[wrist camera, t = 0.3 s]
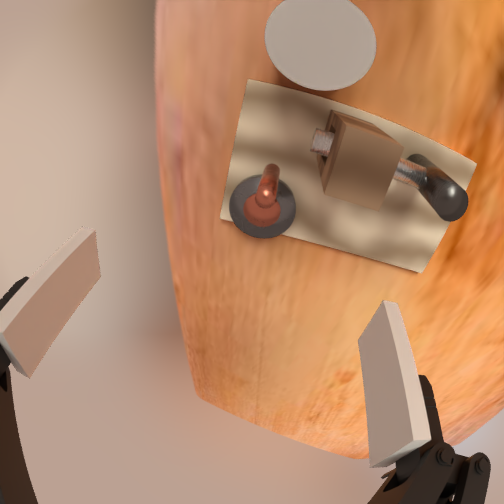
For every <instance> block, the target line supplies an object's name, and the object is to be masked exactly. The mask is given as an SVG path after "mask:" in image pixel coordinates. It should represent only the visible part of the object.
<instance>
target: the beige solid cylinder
mask: <svg viewBox="0 0 504 504" xmlns="http://www.w3.org/2000/svg"><path fill="white" fill-rule="evenodd" d="M265 45H266V49H267V52H268V55H269V57H270V59H271V61H272V62H273V64H274V65H275V66H276V68H277V69H278V70H279V71H280V72H281V73H282V74H283V75H284V76H286V77H287V78H288V79H290V80H291V81H293V82H295V83H297V84H299V85H301V86H303V87H306V88H310V89H314V90H323V91H329V90H337V89H342V88H345V87H348V86H350V85H352V84H354V83H356V82H357V81H358V80H360V79H361V78H362V77H363V76H364V75H365V74H366V73H367V72H368V70H369V69H370V67H371V66H372V64H373V61H374V58H375V55H376V37H375V33H374V30H373V27H372V25H371V23H370V21H369V20H368V18H367V17H366V15H365V14H364V13H363V12H362V11H361V10H360V9H359V8H358V7H357V6H356V5H354V4H353V3H352V2H350V1H348V0H284V1H283V2H281V3H280V4H279V5H278V6H277V7H276V8H275V9H274V10H273V12H272V13H271V15H270V17H269V19H268V21H267V24H266V28H265Z"/></svg>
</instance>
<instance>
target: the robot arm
mask: <svg viewBox="0 0 504 504" xmlns="http://www.w3.org/2000/svg"><path fill="white" fill-rule="evenodd" d="M100 277H101V275H100V267H99V259H98V251H97V242H96V232H95V230H94V229H90V228H86V227H81V228H80V229H79V230H78V231H77V232H76V233H75V234H74V235H73V236H71V237H70V238H69V239H68V240H67V241H66V242H65V243H64V244H63V245H62V246H61V247H60V248H59V249H58V250H57V251H56V252H55V253H54V254H53V255H52V256H51V257H50V258H49V259H48V260H47V261H46V262H45V263H44V264H43V265H42V266H41V267H40V268H39V269H38V270H37V271H36V272H35V273H34V274H33V275H32V276H31V277H30V278H28V277H24V278H23V279H21V280H19V281H17V282H16V283H15V284H14V285H13V287H11V288H10V289H9V292H7V293H6V294H5V295H4V296H3V299H0V504H38V502H37V499H36V496H35V493H34V490H33V487H32V484H31V481H30V478H29V474H28V471H27V467H26V463H25V459H24V456H23V451H22V447H21V443H20V438H19V433H18V428H17V423H16V417H15V410H14V403H13V396H12V387H11V376H10V370H9V367H8V366H9V365H10V363H12V364H13V366H14V367H15V369H16V370H17V371H18V372H20V373H21V374H23V375H24V376H26V377H28V378H30V377H31V376H32V374H33V372H34V371H35V369H36V367H37V366H38V364H39V363H40V361H41V359H42V358H43V356H44V355H45V354H46V352H47V350H48V349H49V347H50V346H51V344H52V343H53V341H54V340H55V338H56V337H57V336H58V334H59V333H60V331H61V330H62V328H63V327H64V326H65V324H66V323H67V321H68V320H69V318H70V317H71V316H72V314H73V313H74V312H75V310H76V309H77V307H78V306H79V305H80V303H81V302H82V301H83V299H84V298H85V297H86V295H87V294H88V293H89V291H90V290H91V289H92V287H93V286H94V285H95V284H96V282H97V281H98V280H99V278H100ZM358 344H359V351H360V359H361V367H362V375H363V384H364V393H365V403H366V414H367V426H368V441H369V459H370V468H371V467H372V468H374V467H387V466H389V465H391V464H393V463H395V462H396V468H395V469H393V470H391V471H390V472H388V473H386V474H384V475H383V476H382V477H381V478H382V479H384V478H386V477H388V478H387V479H386V481H385V482H384V483H383V484H382V486H381V487H380V488H379V490H378V491H377V492H376V494H375V495H374V496H373V497H372V499H371V500H370V501H369V502H368V504H484V502H485V497H486V492H487V488H488V482H489V477H490V470H491V469H490V468H491V464H490V461H489V459H488V457H487V456H486V455H485V454H483V453H480V452H479V453H476V454H474V455H473V456H471V457H465V456H462V455H458V454H455V451H454V449H453V448H452V447H451V446H450V445H449V444H447V443H445V442H444V440H443V436H442V431H441V426H440V421H439V416H438V411H437V408H436V402H435V399H434V394H433V390H432V386H431V384H430V383H429V381H428V379H427V378H426V376H425V375H418V372H417V369H416V365H415V361H414V357H413V353H412V350H411V346H410V343H409V339H408V336H407V332H406V329H405V326H404V322H403V319H402V316H401V313H400V310H399V307H398V304H397V303H395V302H390V301H386V300H383V301H382V303H381V304H380V306H379V308H378V309H377V311H376V313H375V314H374V316H373V318H372V319H371V321H370V322H369V324H368V325H367V327H366V329H365V330H364V332H363V333H362V335H361V336H360V338H359V339H358ZM453 495H455V496H454V499H453V501H452V498H453Z"/></svg>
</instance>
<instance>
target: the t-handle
mask: <svg viewBox="0 0 504 504" xmlns="http://www.w3.org/2000/svg"><path fill="white" fill-rule="evenodd" d="M334 135H335V133H332V132H329V131H325V130H322V129H319V128H316V129H315V131H314V134H313V137H312V141H311V145H310V152H314V153H317V154H321V155H324V156H327V157H328V154H329V151H330V148H331V144H332V141H333V138H334ZM393 179H395V180H397V181H400V182H402V183H405V184H407V185H410V186H412V187H415V188H416V189H417V190H418V191H419V192H420V193H421V195H422V196H423V197H424V198H425V199H426V200H427V202H428V203H429V204H430V205H431V207H432V208H433V209H434V210H435V212H436V213H437V214H438V215H439V217H440V218H441V219H443V220H444V221H448V222H451V221H455V220H457V219H459V218H460V217H462V216H463V214H464V213H465V211H466V209H467V207H468V196H467V193H466V191H465V190H464V189H463V188H462V187H461V186H460V185H458V184H457V183H456V182H455V181H454V180H453V179H452V178H450V177H449V176H448V175H447V174H446V173H445V172H443V171H442V170H441V169H440V168H439V167H437V166H436V165H435V164H434V163H432V162H431V161H430V160H429V159H427V158H426V157H425V156H423V155H421V154H413V155H410V156H409V157H408V158H407V159H404V158H400V161H399V163H398V166H397V169H396V171H395V174H394V176H393Z"/></svg>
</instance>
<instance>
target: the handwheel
mask: <svg viewBox="0 0 504 504" xmlns="http://www.w3.org/2000/svg"><path fill="white" fill-rule="evenodd" d="M279 175H280V168H279V167H278V166H277V165H276V164H273V163H271V164H268V165H266V166H265V168H264V171H263V174H260V175H253V176H250V177H248V178H246V179H244V180H242V181H241V182H240V183H239V184H238V185H237V186H236V188H235V189H234V191H233V193H232V195H231V197H230V201H229V212H230V216H231V218H232V220H233V222H234V223H235V225H236V226H237V227H238V228H239V229H240V230H241V231H243V232H244V233H246V234H248V235H250V236H253V237H257V238H272V237H276V236H278V235H280V234H282V233H284V232H285V231H286V230H287V229H288V228H289V227H290V226H291V224H292V223H293V221H294V218H295V214H296V201H295V197H294V194H293V192H292V190H291V189H290V188H289V186H288V185H287V184H286V183H284V182H283V181H282V180H280V179H279Z"/></svg>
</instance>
